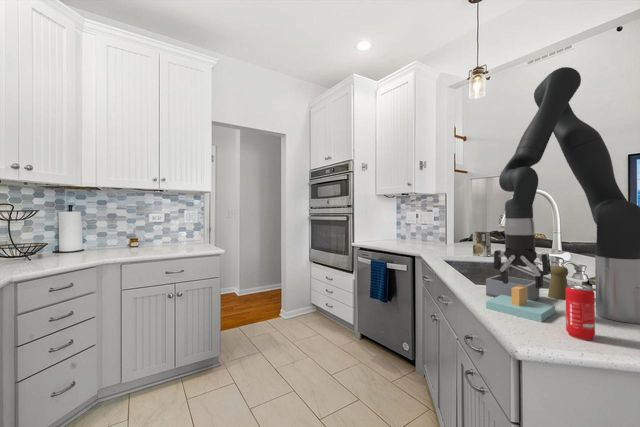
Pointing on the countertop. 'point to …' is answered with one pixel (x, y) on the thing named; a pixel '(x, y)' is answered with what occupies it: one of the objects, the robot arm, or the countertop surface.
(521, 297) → the lid
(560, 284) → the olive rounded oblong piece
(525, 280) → the tub
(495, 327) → the countertop surface
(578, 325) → the beverage can
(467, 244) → the countertop surface
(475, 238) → the coffee box
